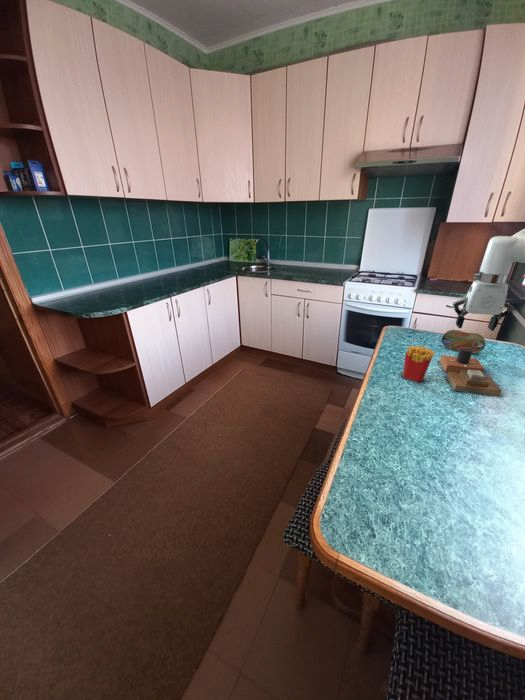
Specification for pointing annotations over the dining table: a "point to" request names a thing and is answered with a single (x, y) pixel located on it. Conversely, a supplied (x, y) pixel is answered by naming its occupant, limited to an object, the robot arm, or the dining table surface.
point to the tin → (463, 340)
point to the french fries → (417, 362)
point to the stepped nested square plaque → (473, 384)
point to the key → (475, 374)
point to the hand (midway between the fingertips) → (474, 328)
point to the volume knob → (464, 355)
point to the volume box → (459, 364)
